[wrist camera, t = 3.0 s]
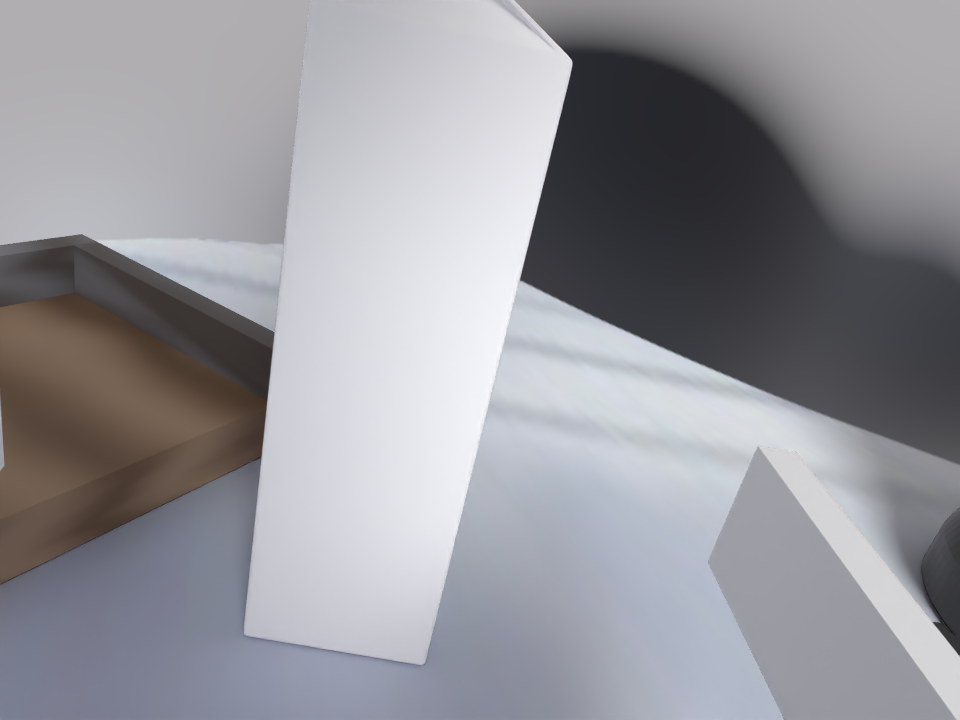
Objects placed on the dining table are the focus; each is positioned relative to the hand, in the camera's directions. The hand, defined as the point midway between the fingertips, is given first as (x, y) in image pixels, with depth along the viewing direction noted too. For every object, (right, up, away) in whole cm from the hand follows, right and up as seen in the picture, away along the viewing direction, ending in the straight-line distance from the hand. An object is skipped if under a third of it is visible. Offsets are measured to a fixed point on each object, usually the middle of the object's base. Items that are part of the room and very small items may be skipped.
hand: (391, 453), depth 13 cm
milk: (-3, -7, +14) cm, 16 cm away
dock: (-18, -1, +18) cm, 25 cm away
